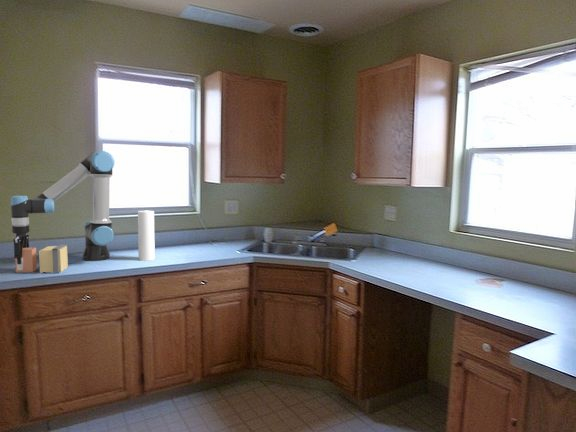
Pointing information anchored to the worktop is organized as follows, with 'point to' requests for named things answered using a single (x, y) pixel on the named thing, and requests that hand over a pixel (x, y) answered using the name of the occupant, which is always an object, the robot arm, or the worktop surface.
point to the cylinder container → (146, 235)
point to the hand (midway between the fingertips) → (22, 268)
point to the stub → (28, 260)
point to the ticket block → (53, 258)
